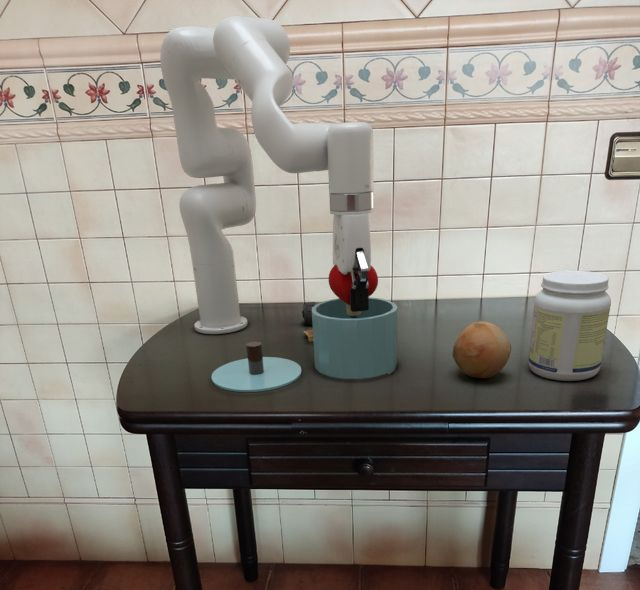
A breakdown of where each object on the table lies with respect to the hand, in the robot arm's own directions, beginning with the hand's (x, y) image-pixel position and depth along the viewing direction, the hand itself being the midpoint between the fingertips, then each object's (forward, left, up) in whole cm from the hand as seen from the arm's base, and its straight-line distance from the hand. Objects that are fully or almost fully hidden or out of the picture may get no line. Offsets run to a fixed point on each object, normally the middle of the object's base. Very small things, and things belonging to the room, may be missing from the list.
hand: (353, 304), depth 109 cm
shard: (-18, -1, -12) cm, 22 cm away
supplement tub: (+14, +35, -12) cm, 40 cm away
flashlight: (-30, +3, -12) cm, 32 cm away
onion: (+12, +20, -12) cm, 26 cm away
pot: (0, 0, -12) cm, 12 cm away
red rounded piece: (0, 0, -3) cm, 3 cm away
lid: (0, -19, -11) cm, 22 cm away
